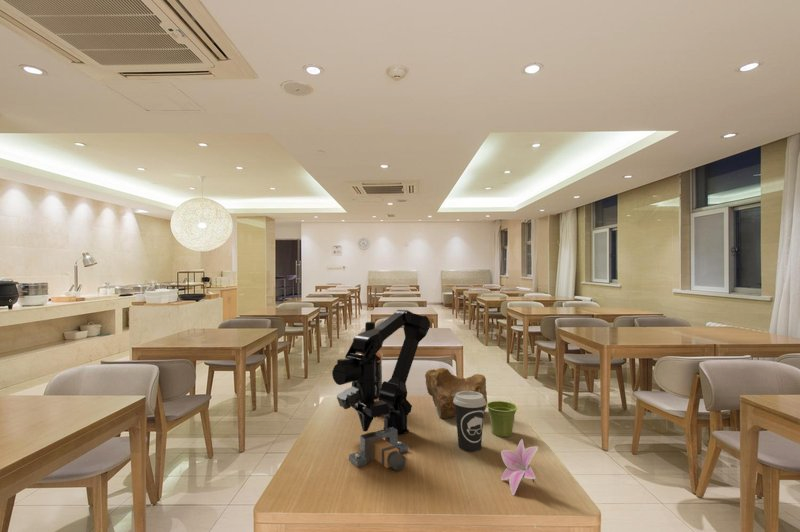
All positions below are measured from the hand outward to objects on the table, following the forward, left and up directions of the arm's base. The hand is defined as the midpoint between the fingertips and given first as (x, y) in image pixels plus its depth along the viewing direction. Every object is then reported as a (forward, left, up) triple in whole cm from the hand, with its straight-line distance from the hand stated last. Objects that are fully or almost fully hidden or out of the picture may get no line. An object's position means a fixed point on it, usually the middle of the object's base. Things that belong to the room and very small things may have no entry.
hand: (365, 431), depth 111 cm
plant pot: (-42, +12, -4) cm, 44 cm away
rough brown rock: (-38, -9, -4) cm, 39 cm away
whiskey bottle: (-15, -32, -4) cm, 36 cm away
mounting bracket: (-1, +8, -4) cm, 9 cm away
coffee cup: (-27, +15, -4) cm, 31 cm away
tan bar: (-1, +9, -4) cm, 10 cm away
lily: (-25, +36, -4) cm, 44 cm away
